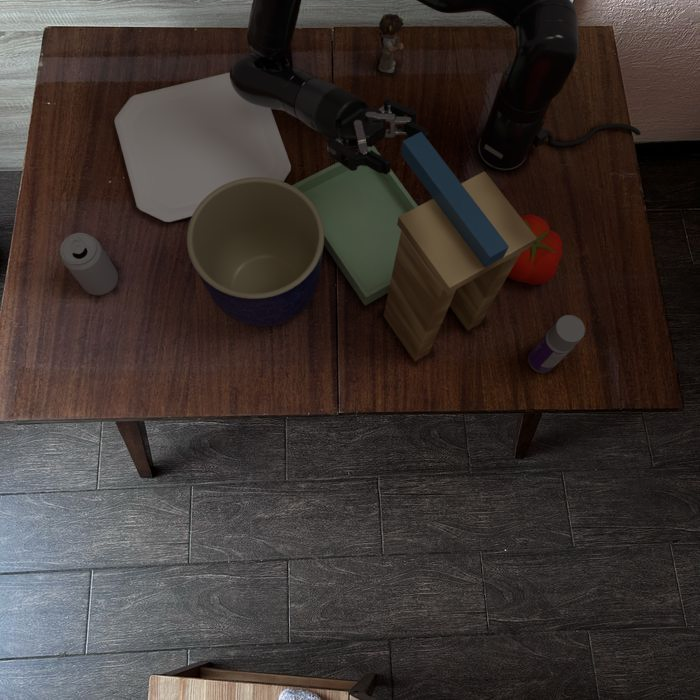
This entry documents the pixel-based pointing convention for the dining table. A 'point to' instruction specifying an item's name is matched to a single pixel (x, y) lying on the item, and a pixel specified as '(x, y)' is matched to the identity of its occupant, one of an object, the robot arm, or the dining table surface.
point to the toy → (389, 40)
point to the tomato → (538, 254)
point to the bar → (453, 200)
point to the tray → (360, 222)
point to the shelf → (448, 267)
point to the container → (556, 343)
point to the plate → (195, 144)
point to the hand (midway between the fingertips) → (408, 153)
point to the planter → (257, 249)
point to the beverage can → (89, 263)
